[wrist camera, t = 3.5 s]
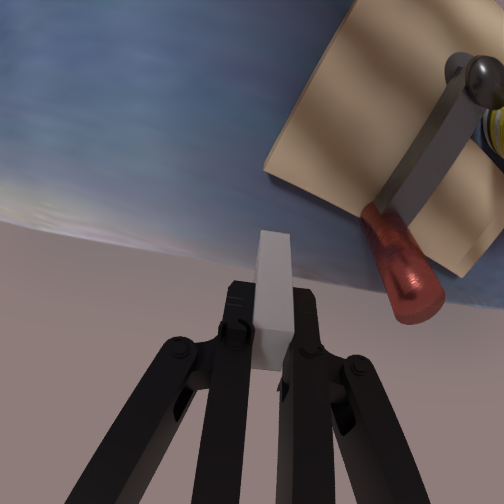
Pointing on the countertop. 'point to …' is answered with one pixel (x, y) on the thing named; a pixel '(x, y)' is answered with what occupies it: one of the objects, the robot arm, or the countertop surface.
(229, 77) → the countertop surface
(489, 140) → the pill bottle
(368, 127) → the tan flat square sheet
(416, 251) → the lever
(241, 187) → the countertop surface
